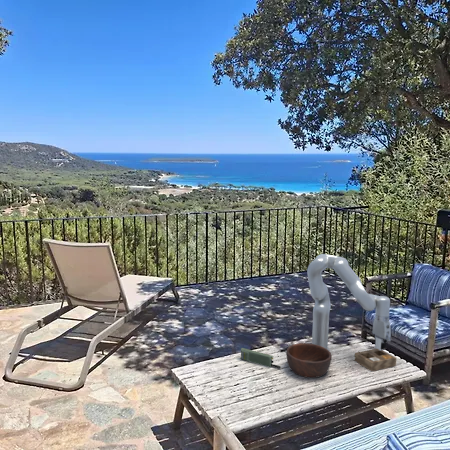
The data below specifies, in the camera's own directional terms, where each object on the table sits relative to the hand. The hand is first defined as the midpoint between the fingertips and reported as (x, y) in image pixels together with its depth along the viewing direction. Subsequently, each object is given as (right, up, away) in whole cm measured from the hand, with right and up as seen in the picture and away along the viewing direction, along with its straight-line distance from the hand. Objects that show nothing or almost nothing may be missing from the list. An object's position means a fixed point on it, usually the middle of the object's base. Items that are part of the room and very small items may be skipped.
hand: (380, 347), depth 240 cm
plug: (0, -1, 0) cm, 1 cm away
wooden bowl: (-45, -10, -10) cm, 47 cm away
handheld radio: (-71, -9, -5) cm, 72 cm away
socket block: (-4, -9, -2) cm, 10 cm away
